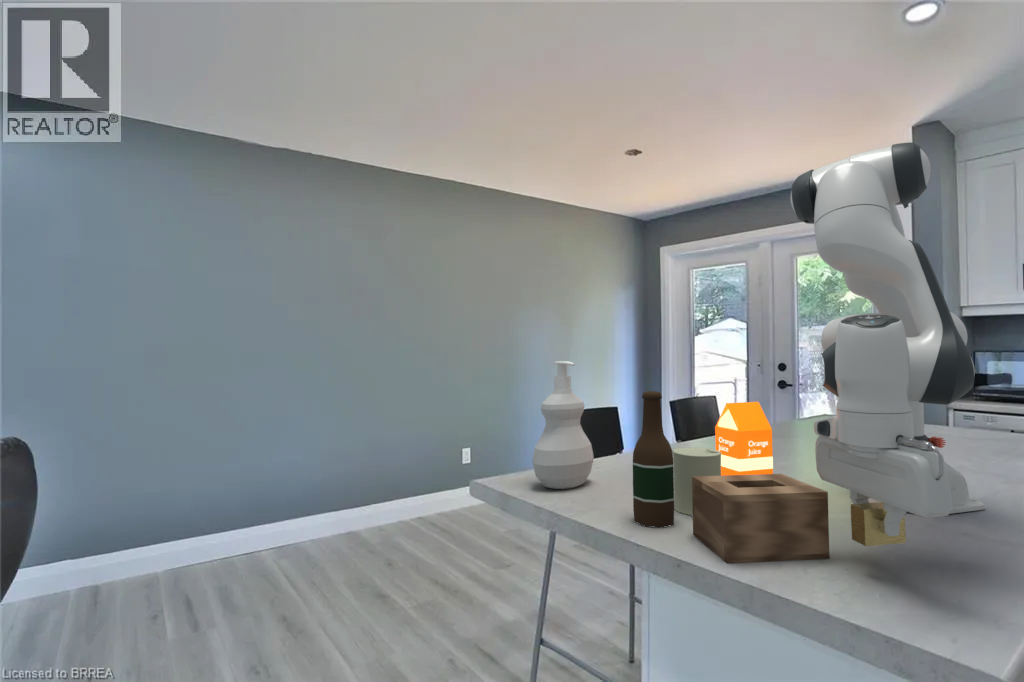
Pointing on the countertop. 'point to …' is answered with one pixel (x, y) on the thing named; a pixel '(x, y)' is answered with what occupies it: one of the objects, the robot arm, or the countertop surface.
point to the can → (692, 473)
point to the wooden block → (872, 525)
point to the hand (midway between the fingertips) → (878, 529)
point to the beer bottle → (653, 469)
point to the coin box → (760, 518)
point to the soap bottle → (562, 437)
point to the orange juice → (744, 440)
